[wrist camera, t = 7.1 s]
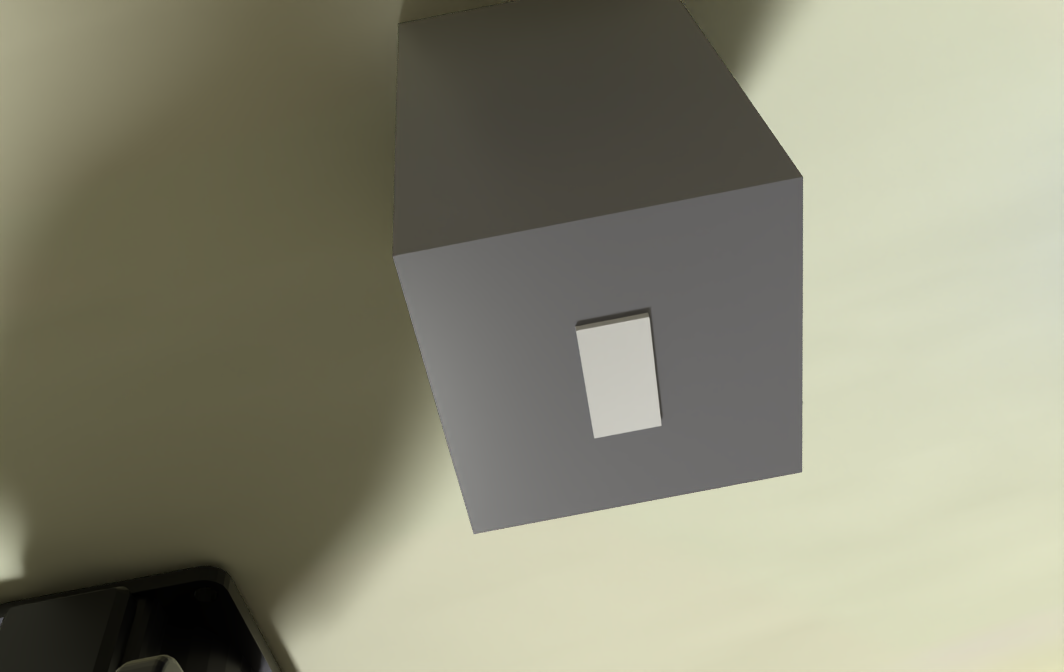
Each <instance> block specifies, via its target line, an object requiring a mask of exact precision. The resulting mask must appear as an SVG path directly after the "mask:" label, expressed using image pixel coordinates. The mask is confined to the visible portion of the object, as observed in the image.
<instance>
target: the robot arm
mask: <svg viewBox="0 0 1064 672" xmlns="http://www.w3.org/2000/svg"><path fill="white" fill-rule="evenodd" d="M207 587H208V588H207ZM0 672H281V670H280V668H279V666H278V664H277V662H276V661H275V659H274V657H273V655H272V653H271V651H270V649H269V647H268V646H267V644H266V642H265V640H264V638H263V636H262V634H261V633H260V631H259V629H258V627H257V625H256V623H255V621H254V619H253V618H252V616H251V614H250V612H249V610H248V608H247V606H246V604H245V603H244V601H243V599H242V597H241V595H240V593H239V591H238V589H237V588H236V586H235V584H234V582H233V580H232V578H231V577H230V575H229V574H228V573H227V572H226V571H224V570H222V569H220V568H218V567H213V566H201V567H195V568H190V569H185V570H180V571H174V572H169V573H164V574H158V575H153V576H148V577H143V578H137V579H132V580H127V581H121V582H116V583H111V584H106V585H100V586H95V587H90V588H84V589H79V590H74V591H69V592H63V593H58V594H53V595H48V596H42V597H37V598H32V599H26V600H21V601H16V602H11V603H5V604H0Z"/></svg>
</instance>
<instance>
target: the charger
mask: <svg viewBox="0 0 1064 672" xmlns="http://www.w3.org/2000/svg"><path fill="white" fill-rule="evenodd" d="M392 256H393V260H394V263H395V267H396V270H397V274H398V277H399V280H400V284H401V287H402V291H403V294H404V297H405V301H406V304H407V308H408V311H409V315H410V318H411V321H412V325H413V328H414V332H415V335H416V338H417V342H418V345H419V349H420V352H421V356H422V359H423V362H424V366H425V369H426V373H427V376H428V379H429V383H430V386H431V390H432V393H433V396H434V400H435V403H436V407H437V410H438V414H439V417H440V420H441V424H442V427H443V431H444V434H445V437H446V441H447V444H448V448H449V451H450V455H451V458H452V461H453V465H454V468H455V472H456V475H457V478H458V482H459V485H460V489H461V492H462V496H463V499H464V502H465V506H466V509H467V513H468V516H469V519H470V523H471V526H472V530H473V533H474V534H477V533H482V532H487V531H493V530H498V529H503V528H508V527H514V526H519V525H524V524H530V523H535V522H540V521H546V520H551V519H556V518H561V517H567V516H572V515H577V514H583V513H588V512H593V511H599V510H604V509H609V508H614V507H620V506H625V505H630V504H636V503H641V502H646V501H652V500H657V499H662V498H667V497H673V496H678V495H683V494H689V493H694V492H699V491H705V490H710V489H715V488H720V487H726V486H731V485H736V484H742V483H747V482H752V481H758V480H763V479H768V478H773V477H779V476H784V475H789V474H795V473H800V472H802V319H803V176H802V175H801V173H800V172H799V171H798V169H797V168H796V166H795V165H794V163H793V162H792V160H791V159H790V158H789V156H788V155H787V153H786V152H785V150H784V149H783V147H782V146H781V145H780V143H779V142H778V140H777V139H776V137H775V136H774V135H773V133H772V132H771V130H770V129H769V127H768V126H767V124H766V123H765V122H764V120H763V119H762V117H761V116H760V114H759V113H758V112H757V110H756V109H755V107H754V106H753V104H752V103H751V101H750V100H749V99H748V97H747V96H746V94H745V93H744V91H743V90H742V88H741V87H740V86H739V84H738V83H737V81H736V80H735V78H734V77H733V76H732V74H731V73H730V71H729V70H728V68H727V67H726V65H725V64H724V63H723V61H722V60H721V58H720V57H719V55H718V54H717V53H716V51H715V50H714V48H713V47H712V45H711V44H710V42H709V41H708V40H707V38H706V37H705V35H704V34H703V32H702V31H701V29H700V28H699V27H698V25H697V24H696V22H695V21H694V19H693V18H692V17H691V15H690V14H689V12H688V11H687V9H686V8H685V6H684V5H683V4H682V2H681V1H680V0H517V1H512V2H507V3H501V4H496V5H491V6H486V7H481V8H476V9H471V10H466V11H461V12H456V13H451V14H446V15H441V16H435V17H430V18H425V19H420V20H415V21H410V22H405V23H400V24H398V55H397V95H396V135H395V174H394V214H393V254H392Z"/></svg>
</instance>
